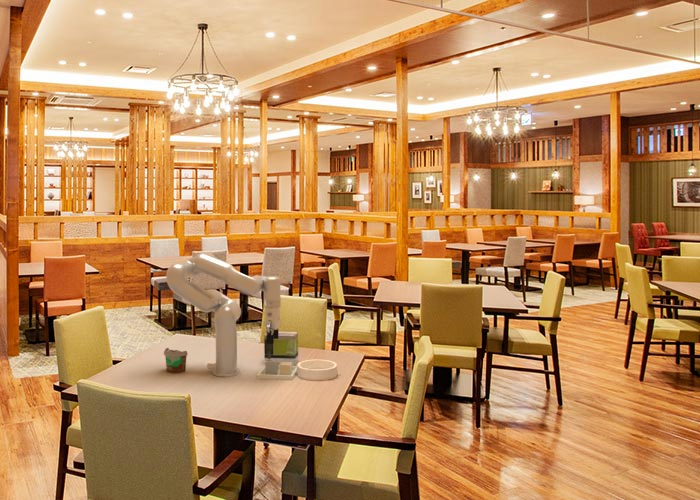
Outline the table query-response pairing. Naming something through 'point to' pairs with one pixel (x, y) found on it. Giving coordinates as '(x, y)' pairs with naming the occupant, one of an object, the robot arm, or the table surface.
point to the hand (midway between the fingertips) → (272, 341)
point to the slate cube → (272, 368)
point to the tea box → (282, 348)
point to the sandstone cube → (286, 368)
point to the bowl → (317, 369)
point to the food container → (175, 360)
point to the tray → (279, 377)
